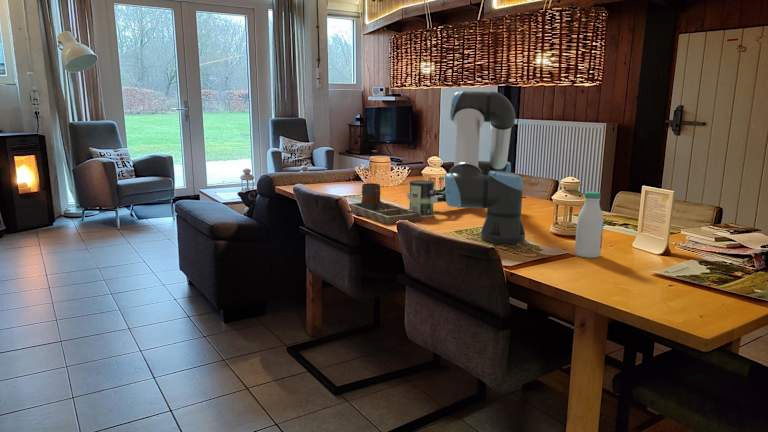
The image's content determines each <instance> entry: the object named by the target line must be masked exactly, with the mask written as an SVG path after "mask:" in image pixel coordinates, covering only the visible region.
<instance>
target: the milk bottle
mask: <svg viewBox="0 0 768 432" xmlns="http://www.w3.org/2000/svg"><path fill="white" fill-rule="evenodd" d="M601 195H602V194H601V192H599V191H591V190H590V191H585V192H584V203H583V205H582V208H581V210H580V211H579V213H578V216H577V221H576V228H575V232H576V233H575V243H574V254H575V256H578V257H582V258H588V259H589V258H590V259H596V258H600V257H601V252H602V243H603V233H604V231H603V230H604V214H603V212H602V208H601V206H600V205H601V204H600V201H601Z"/></svg>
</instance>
